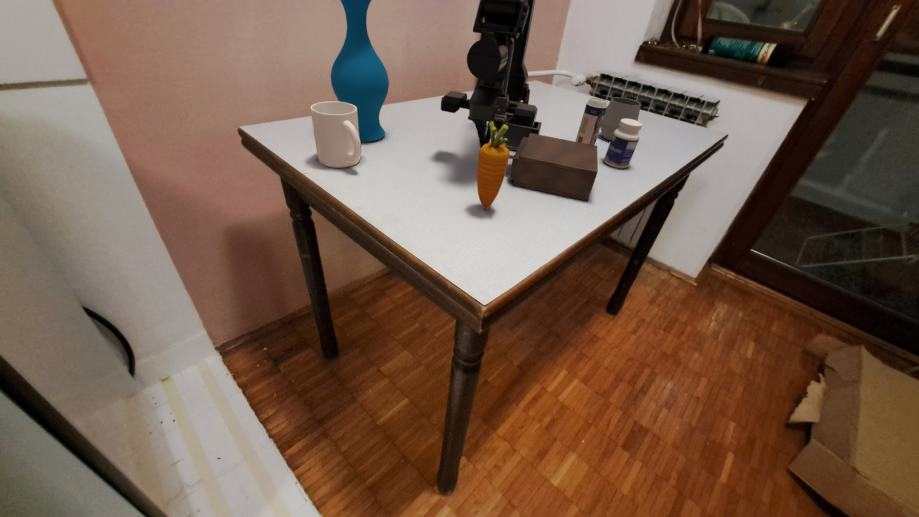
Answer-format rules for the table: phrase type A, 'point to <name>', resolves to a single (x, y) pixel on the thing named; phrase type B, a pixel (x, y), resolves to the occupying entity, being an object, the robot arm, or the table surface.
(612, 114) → the cup
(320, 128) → the mug
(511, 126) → the black open box
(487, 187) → the carrot
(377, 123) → the vase
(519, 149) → the drawer
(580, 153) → the cabinet
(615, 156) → the pill bottle
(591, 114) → the spice jar
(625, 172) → the table surface
